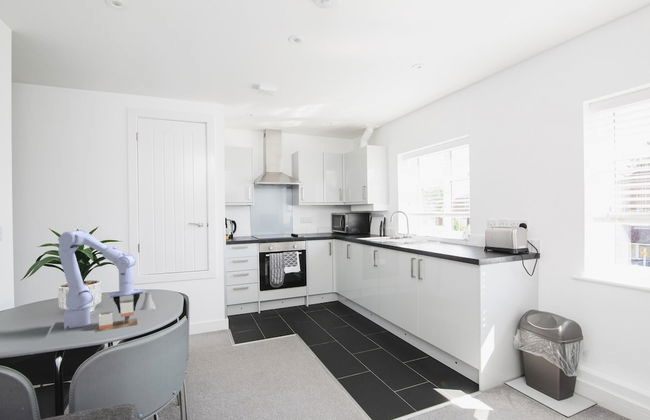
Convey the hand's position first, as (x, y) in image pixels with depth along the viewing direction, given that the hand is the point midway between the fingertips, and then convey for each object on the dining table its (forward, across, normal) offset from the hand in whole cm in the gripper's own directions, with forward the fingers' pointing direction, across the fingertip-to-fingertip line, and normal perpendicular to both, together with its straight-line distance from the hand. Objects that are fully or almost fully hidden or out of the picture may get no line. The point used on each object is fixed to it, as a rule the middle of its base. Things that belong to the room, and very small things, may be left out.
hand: (126, 311), depth 150 cm
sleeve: (+1, 0, 0) cm, 1 cm away
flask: (+7, +10, +20) cm, 23 cm away
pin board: (+7, -4, 0) cm, 8 cm away
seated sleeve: (+5, -8, 0) cm, 10 cm away
